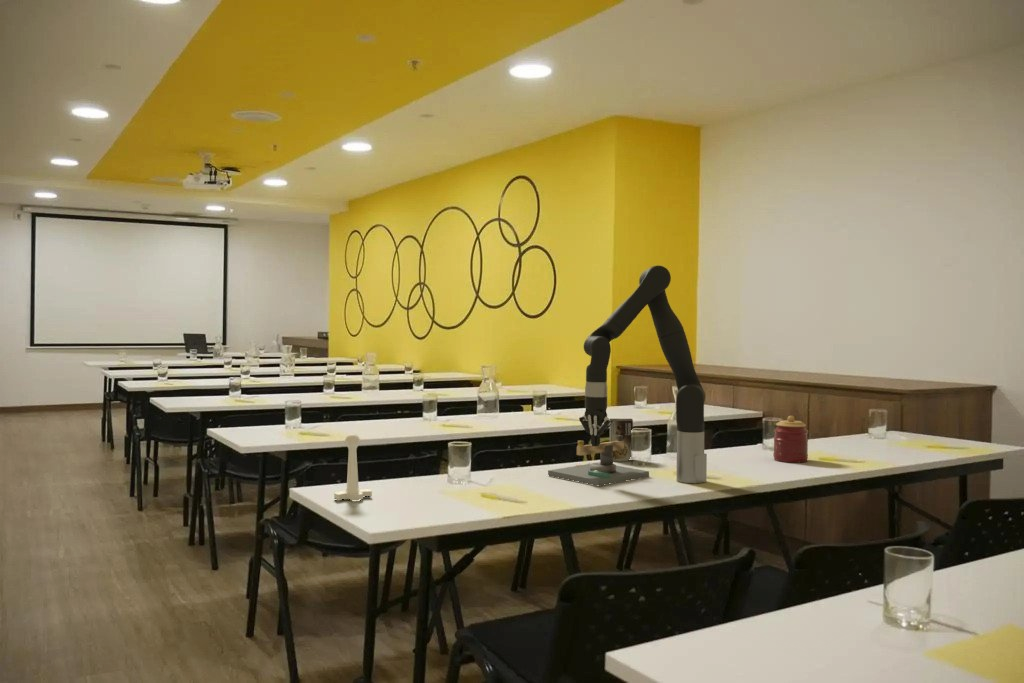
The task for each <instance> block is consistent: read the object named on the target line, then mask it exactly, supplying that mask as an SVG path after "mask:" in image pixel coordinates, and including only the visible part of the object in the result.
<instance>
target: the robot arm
mask: <svg viewBox="0 0 1024 683" xmlns="http://www.w3.org/2000/svg"><path fill="white" fill-rule="evenodd" d="M671 281H672V277H671V273H670V271H669V270H668V268H666V267H665V266H663V265H658V264H657V265H653V266H650V267H649V268H647V269H645V270H644V271H643V272H642V273H641V274H640V276H639V280H638V283H639V285H638V287H637V288H636V289H634V290H635V291H634V292H632V294H630V296H629V297H628V298H627V299H625V300H624V301H623V302H622V303H621V304H620V305H619V306H618V307H616V309H615V310H614V311H613V312H612V313H611V314H610V315H609V317H607V319H606V320H605V321H604V323H602V324H601V325H600V326H599V327H598V328H596V329H595V330H593V331H592V333H590V334H589V335H588V336H587V337H586V339H585V340H584V343H583V351H584V353H585V354H586V355H588V356H589V357H590V363H589V364H588V365H587V366H586V371H585V386H584V408H585V411H584V415H583V416H580V417H579V418H578V419H579V422H580V423H581V425H582V427H583V429H584V431H585V432H586V433H588V434H589V435H590V444H592V446H595V447H596V446H599V445H600V443H601V435H603V434H604V435H605V434H606V432H607V431H608V430H609V429H610V425H611V424H612V423H613V421H612V420H610V419H611V418H609V417H608V413H607V410H608V381H607V380H608V366H609V364H610V357H611V341H613V340H616V339H618V338H619V337H621V335H622V334H623V333H624V332H625V331H626V329H627V328H628V327H629V326H630V325H631V324H632V323H633V321H634V320H635V319H636V318H637V316H638V315H639V314H640V313H641V312H642V311H643V310H644V308H645V307H647V306H648V309H649V313H650V314H651V319H652V322H653V325H654V329H655V332H656V335H657V338H658V342H659V345H660V347H661V348H660V349H661V351H662V353H663V355H664V358H665V360H666V361H667V363H668V365H669V367H670V369H671V371H672V374H673V375H674V379H675V384H676V388H677V394H676V397H675V412H676V413H675V414H676V415H675V422H676V481H677V482H679V483H686V484H701V483H706V482H707V470H708V469H707V464H708V462H707V460H708V458H707V453H705V428H706V427H705V402H706V392H705V391H704V388H703V386H702V384H701V382H700V380H699V377H698V375H697V373H696V370H695V367H694V362H693V358H692V357H693V356H692V353H691V349H690V348H691V347H690V345H689V341H688V339H687V338H688V337H687V335H686V332H685V329H684V326H683V325H682V323H681V321H680V319H679V318H678V316H677V315H676V313H675V311H674V310H673V309H672V307H671V306H670V303H669V300H668V297H667V293H666V290H667V289H668V288H669V286H670V284H671Z"/></svg>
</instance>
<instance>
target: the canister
mask: <svg viewBox="0 0 1024 683" xmlns="http://www.w3.org/2000/svg"><path fill="white" fill-rule="evenodd" d="M775 426H776V428H774V429H773V432H774V437H773V459H774V460H775V461H777V462H781V463H794V464H795V463H796V464H797V463H798V464H799V463H806V462H808V459H809V457H808V456H809V454H808V453H809V452H808V449H809V448H808V446H809V444H808V443H809V438H808V433H809V430H808V429H807V428H806V426H807V424H806V423H804V422H803V421H801V420H795V416H794V415H789V416H788V417H787V419H786V420H785V419H784V420H783V419H782V420H780V421H779V422H776V423H775ZM774 460H773V461H774Z"/></svg>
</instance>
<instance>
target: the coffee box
mask: <svg viewBox="0 0 1024 683" xmlns="http://www.w3.org/2000/svg"><path fill="white" fill-rule="evenodd" d="M609 419H610V420H612V421H613V423H612V424H611V425H610V427H609V442H611V441H617V436H618V435H622V436H623V441H624V449H622V450H615V451H613V462H629V461H628V460H629V459H630V457H631V430H632V429H633V430H634V421H633V418H609Z"/></svg>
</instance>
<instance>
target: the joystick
mask: <svg viewBox="0 0 1024 683" xmlns="http://www.w3.org/2000/svg"><path fill="white" fill-rule="evenodd" d="M360 439H361V438H360V437H359V436H358V435H357V434H356V433H355V434H354V433H349V434H348V435H346V438H345V440H344V443H345V445H346V447H347V449H348V453H347V454H348V455H347V456H348V458H347V459H348V460H347V475H346V476H347V478H346V490H341V491H335V492H334V493H333V494H334V495H333V500H334V499H337V500H336V501H343V500H342V499H344V500H349V499H350V500H349V501H351V500H359V499H364V497H363V496H372V497H373V491H372V490H371V489H369V488H366V489H363V488H362V489H361V488H359V472H358V457H357V454H358V453H357V450H358V447H359V445H360V443H361V440H360Z"/></svg>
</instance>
